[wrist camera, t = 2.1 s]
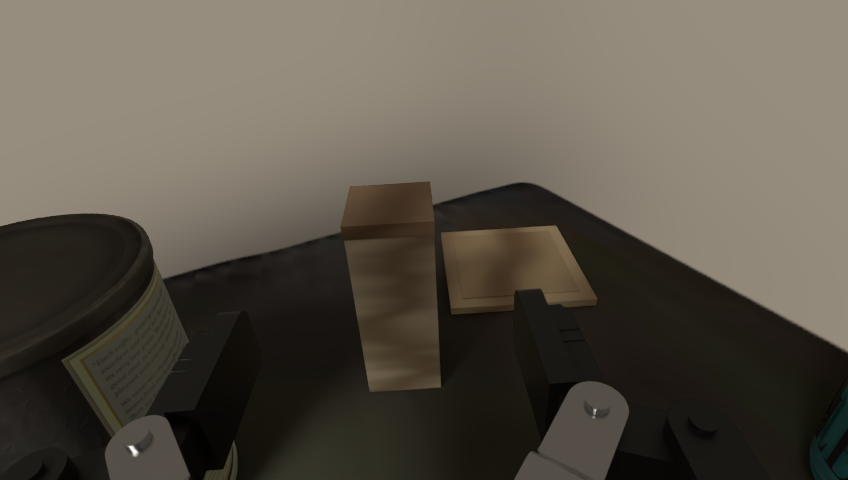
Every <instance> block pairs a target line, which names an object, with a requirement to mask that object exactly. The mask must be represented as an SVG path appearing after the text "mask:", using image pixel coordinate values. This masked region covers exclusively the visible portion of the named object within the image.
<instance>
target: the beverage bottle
mask: <svg viewBox="0 0 848 480" xmlns="http://www.w3.org/2000/svg"><path fill="white" fill-rule="evenodd" d="M847 378H848V377H847ZM847 378H846V379H847ZM846 379H845V380H846ZM844 382H845V381H844ZM844 382H843V384H844ZM843 384H842V385H843ZM842 385H841V387H842ZM841 387H840V389H841ZM839 391H840V390H838V392H839ZM836 394H838V393H836ZM836 396H837V395H836ZM835 398H836V397H835ZM835 398H834V400H835ZM834 400H833V402H834ZM833 402H832V403H831V404H830V405H829V406H830V407H829V406H828V407H829V409H828V411H827V413H828V415H827V417H826V418H824V421H823V423H822V424H821V426H820V425H819V423H820V421H821V419H822V418H821V419H820V421H819V423H818V424H817V427H819V426H820V428H819V429H818V431H817V428H816V427H815V428H816V436H815V437H814V439H813V441H811V446H810V453H809V456H810V467H811V470H812V474H813V476H814V478H815V480H848V385H847V387H846V388H845V390H844V391H843V393H842V395H841V391H840V396H839V397H838V399H837V400H836V402H835V404H834V405H833V407H832V409H831V410H830V408H831V406H832V404H833ZM829 410H830V411H829ZM825 412H826V411H825ZM827 413H826V414H827ZM824 414H825V413H824ZM824 414H823V416H824ZM826 414H825V415H826ZM823 416H822V417H823ZM821 422H822V421H821ZM818 425H819V426H818ZM812 434H813V433H812ZM812 438H813V436H812ZM809 439H810V438H809ZM808 451H809V442H808Z"/></svg>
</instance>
